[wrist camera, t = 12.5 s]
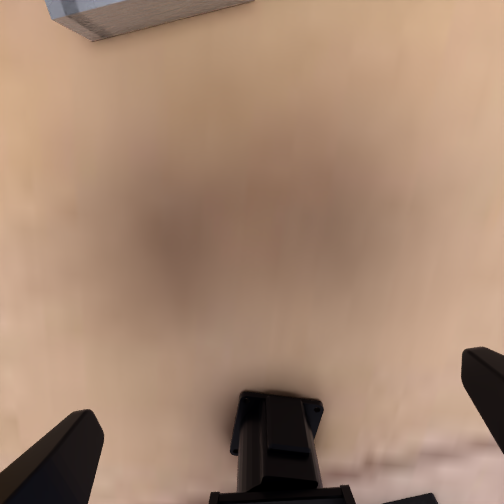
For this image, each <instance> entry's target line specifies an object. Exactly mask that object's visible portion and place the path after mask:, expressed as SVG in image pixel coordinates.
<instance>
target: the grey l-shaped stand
mask: <svg viewBox="0 0 504 504" xmlns="http://www.w3.org/2000/svg"><path fill="white" fill-rule="evenodd" d="M251 1H255V0H45V3H46V5H47V8H48V11H49V14H50V16H51V19H52V20H53V21H55V22H57V23H59V24H61V25H63V26H65V27H66V28H68V29H70V30H72V31H74V32H76V33H77V34H79V35H81V36H83V37H85V38H87V39H89V40H90V41H92V42H93V41H97V40H101V39H105V38H108V37H112V36H116V35H120V34H124V33H128V32H132V31H136V30H140V29H144V28H148V27H152V26H156V25H160V24H164V23H168V22H172V21H176V20H180V19H184V18H188V17H191V16H195V15H199V14H203V13H207V12H211V11H215V10H219V9H223V8H227V7H231V6H235V5H239V4H243V3H247V2H251Z"/></svg>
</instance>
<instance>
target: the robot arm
mask: <svg viewBox="0 0 504 504" xmlns="http://www.w3.org/2000/svg"><path fill="white" fill-rule="evenodd" d="M461 379H462V383H463V386H464V388H465V390H466V391H467V393H468V395H469V396H470V398H471V400H472V402H473V403H474V405H475V407H476V408H477V410H478V412H479V413H480V415H481V417H482V419H483V420H484V422H485V424H486V425H487V427H488V429H489V431H490V432H491V434H492V436H493V437H494V439H495V441H496V443H497V444H498V446H499V447H500V449H501V451H502V452H503V454H504V355H502V354H499V353H497V352H495V351H493V350H490V349H488V348H486V347H475V348H468V349H465V350H464V351H463V353H462V367H461ZM246 398H247V399H246ZM316 407H318V408H316ZM323 411H324V408H323V404H322V403H321V402H320V401H315V400H307V399H299V398H292V397H284V396H276V395H268V394H260V393H252V392H243V393H242V394H241V395H240V399H239V404H238V409H237V414H236V419H235V424H234V429H233V434H232V439H231V445H230V453H231V454H232V455H235V456H238V473H237V493H220V492H211V494H210V499H209V504H356V503H355V500H354V498H353V495H352V492H351V489H350V487H349V485H340V487H332V488H323V485H322V480H321V475H320V470H319V465H318V460H317V455H316V450H315V444H314V438H315V435H316V432H317V429H318V426H319V423H320V420H321V417H322V414H323ZM103 443H104V433H103V430H102V428H101V426H100V424H99V422H98V420H97V418H96V416H95V414H94V413H93V411H91V410H90V409H85V410H79V411H75V412H72V413H71V414H70V415H68V416H67V417H66V418H65V419H64V420H62V421H61V422H60V423H59V424H58V425H57V426H55V427H54V428H53V429H52V430H51V431H49V432H48V433H47V434H46V435H45V436H43V437H42V438H41V439H40V440H39V441H38V442H36V443H35V444H34V445H33V446H32V447H30V448H29V449H28V450H27V451H26V452H24V453H23V454H22V455H21V456H20V457H19V458H17V459H16V460H15V461H14V462H13V463H11V464H10V465H9V466H8V467H7V468H5V469H4V470H3V471H2V472H1V473H0V504H88V501H89V497H90V493H91V490H92V486H93V482H94V478H95V474H96V470H97V466H98V462H99V459H100V455H101V451H102V447H103Z"/></svg>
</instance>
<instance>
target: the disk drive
mask: <svg viewBox="0 0 504 504" xmlns="http://www.w3.org/2000/svg"><path fill="white" fill-rule="evenodd" d="M383 504H438V502H437V500H436V499H435V497H434V495H433V493H428V494H423V495H420V496H415V497H410V498H405V499H401V500H397V501H392V502H387V503H383Z"/></svg>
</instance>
